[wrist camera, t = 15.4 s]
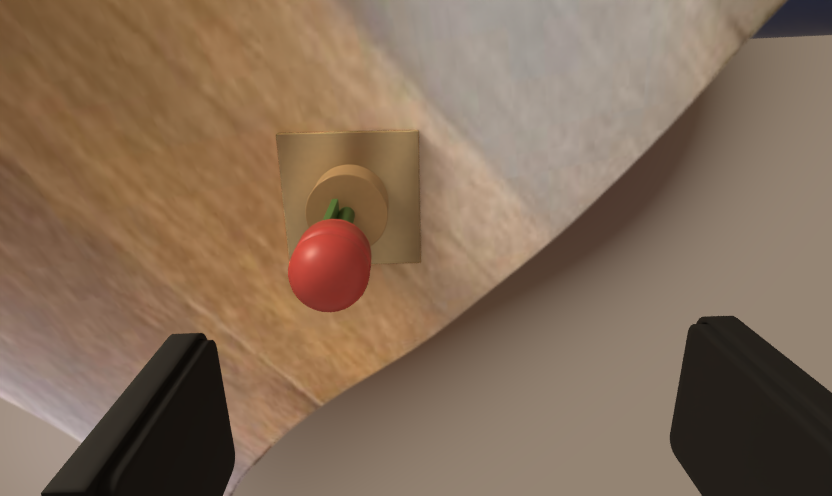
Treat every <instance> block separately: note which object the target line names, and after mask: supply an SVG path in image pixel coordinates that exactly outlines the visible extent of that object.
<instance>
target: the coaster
mask: <svg viewBox="0 0 832 496" xmlns="http://www.w3.org/2000/svg"><path fill="white" fill-rule="evenodd" d="M276 141H277V150H278V159H279V169H280V178H281V187H282V197H283V206H284V215H285V225H286V234H287V243H288V252H289V262H290V259H291V256H292V254H293V252H294V250H295V248H296V246H297V244H298V242H299V240H300V238H301V237H302V235H303V234H304V233H305V231H306V230H307V229H309V227H308V225H307V221H306V216H305V209H306V203H307V200H308V197H309V195H310V193H311V192H312V190H313V188H314V187H315V185H316V183H317V182H318V180H319V179H320V178H321V176H322V175H324V174H325V173H326V172H327V171H329V170H330V169H332V168H334V167H337V166H341V165H358V166H361V167H364V168H366V169H369V170H370V171H372V172H373V173H374V174H376V175H377V176H378V177H379V178H380V180H381V181H382V182H383V184H384V186H385V188H386V191H387V194H388V201H389V202H388V220H387V225H386V228H385V230H384V233H383V234H382V236H381V237H380V238H379V240H378V241H377V242H376V243H375V244H373V245H372V246H370V248H371V254H372V258H371V264H398V263H421V245H420V184H419V131H418V130H391V131H348V132H306V133H278V134H276Z"/></svg>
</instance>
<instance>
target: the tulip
mask: <svg viewBox="0 0 832 496" xmlns="http://www.w3.org/2000/svg"><path fill="white" fill-rule="evenodd" d="M388 202H389V201H388V194H387V191H386V188H385V186H384V184H383V182H382V181H381V180H380V178H379V177H378V176H377V175H376V174H374V173H373V172H372V171H370V170H369V169H366V168H364V167H361V166H358V165H341V166H337V167H334V168H332V169H330V170H329V171H327V172H326V173H325V174H324V175H322V176H321V178H320V179H319V180H318V182H317V183H316V185H315V187H314V188H313V190H312V192H311V193H310V195H309V197H308V200H307V203H306V209H305V216H306V221H307V225H308V227H309V229H307V230H306V231H305V233H304V234H303V235H302V237H301V238H300V240H299V242H298V244H297V246H296V248H295V250H294V252H293V254H292V256H291V259H290V262H289V268H288V277H289V282H290V286H291V288H292V290H293V292H294V294H295V295H296V297H297V298H298V299H299V300H300V301H301V302H302V303H303V304H305V305H306V306H308V307H310V308H312V309H314V310H317V311H322V312H336V311H340V310H343V309H346V308H348V307H350V306H351V305H352V304H354V303H355V302H356V301H357V300H358V299H359V298H360V297H361V296H362V295H363V293H364V291H365V289H366V287H367V284H368V281H369V276H370V268H371V258H372V254H371V248H370V246H372V245H373V244H375V243H376V242H377V241H378V240H379V238H380V237H381V236H382V234H383V233H384V230H385V228H386V225H387V220H388Z"/></svg>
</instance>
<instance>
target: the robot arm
mask: <svg viewBox="0 0 832 496" xmlns="http://www.w3.org/2000/svg"><path fill="white" fill-rule="evenodd" d="M670 443H671V448H672V450H673V453H674V455H675V456H676V458H677V459H678V461H679V462H680V464H681V465H682V467H683V468H684V470H685V471H686V473H687V474H688V475H689V477H690V478H691V480H692V481H693V483H694V484H695V486H696V487H697V489H698V490H699V492H700V493H701V494H702V496H832V393H831V392H830V391H829V390H827V389H826V388H825V387H824V386H822V385H821V384H820V383H819V382H817V381H816V380H815V379H814V378H812V377H811V376H810V375H808V374H807V373H806V372H805V371H803V370H802V369H801V368H799V367H798V366H797V365H796V364H794V363H793V362H792V361H791V360H789V359H788V358H787V357H785V356H784V355H783V354H782V353H781V352H779V351H778V350H777V349H775V348H774V347H773V346H772V345H770V344H769V343H768V342H767V341H765V340H764V339H763V338H761V337H760V336H759V335H758V334H756V333H755V332H754V331H753V330H751V329H750V328H749V327H748V326H746V325H745V324H744V323H743V322H741V321H740V320H739V319H738V318H736V317H734V316H711V317H701V318H700V319H699V320H698V321H697V323H696V324H693V325H691V326H690V328H689V330H688V335H687V340H686V346H685V353H684V357H683V363H682V369H681V375H680V381H679V386H678V392H677V398H676V403H675V409H674V415H673V420H672V427H671V432H670ZM234 463H235V449H234V443H233V438H232V432H231V426H230V421H229V415H228V409H227V403H226V398H225V392H224V386H223V381H222V375H221V369H220V363H219V358H218V352H217V347H216V344H215V342H214V341H213V340H207V338H206V336H205V335H204V334H203V333H189V334H172V335H170V336H169V337H168V338H167V340H166V341H165V342H164V343H163V345H162V346H161V347H160V348H159V349H158V351H157V352H156V353H155V354H154V356H153V357H152V358H151V359H150V360H149V362H148V363H147V364H146V365H145V367H144V368H143V369H142V370H141V371H140V373H139V374H138V375H137V376H136V378H135V379H134V380H133V381H132V382H131V384H130V385H129V386H128V387H127V389H126V390H125V391H124V392H123V393H122V395H121V396H120V397H119V398H118V400H117V401H116V402H115V403H114V404H113V406H112V407H111V408H110V409H109V411H108V412H107V413H106V414H105V415H104V417H103V418H102V419H101V420H100V422H99V423H98V424H97V425H96V426H95V428H94V429H93V430H92V431H91V433H90V434H89V435H88V436H87V437H86V439H85V440H84V441H83V442H82V444H81V445H80V446H79V447H78V448H77V450H76V451H75V452H74V453H73V455H72V456H71V457H70V458H69V459H68V461H67V462H66V463H65V464H64V466H63V467H62V468H61V469H60V470H59V472H58V473H57V474H56V476H55V477H54V478H53V479H52V480H51V481H50V483H49V484H48V485H47V486H46V488H45V489H44V490H43V491H42V493H41V495H42V496H223V494H224V491H225V489H226V486H227V484H228V481H229V479H230V476H231V474H232V471H233V468H234Z"/></svg>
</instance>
